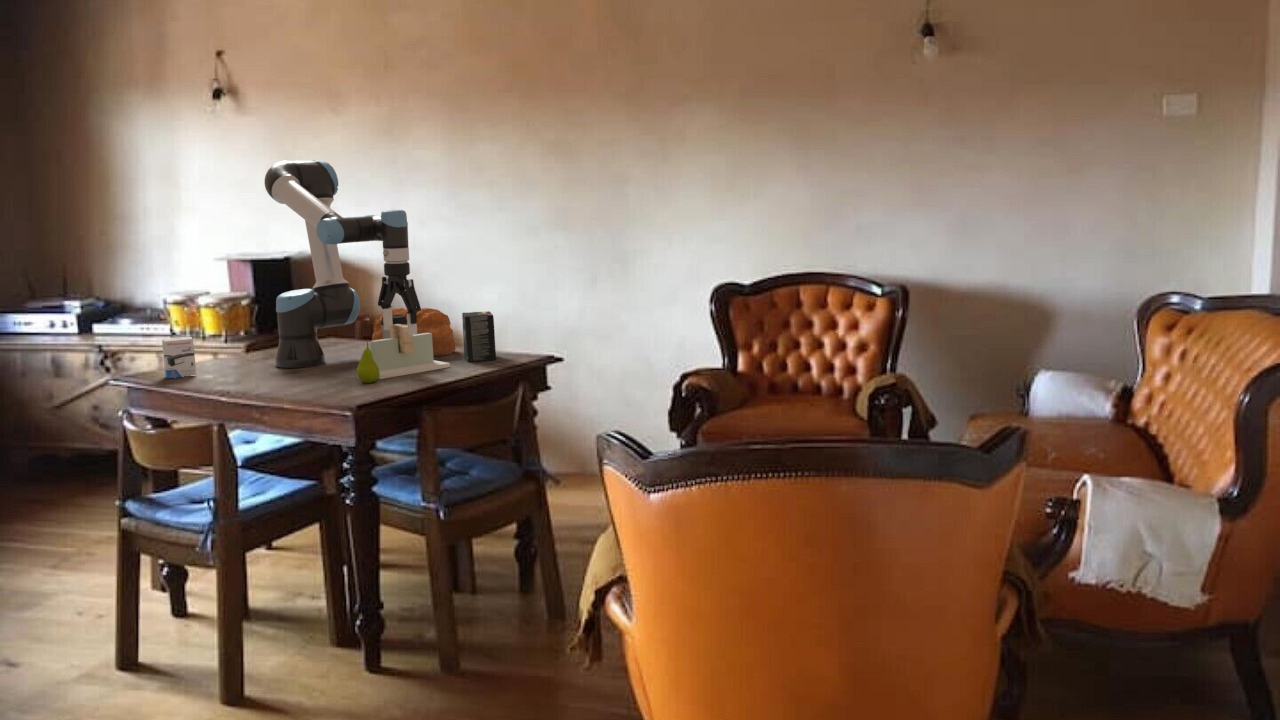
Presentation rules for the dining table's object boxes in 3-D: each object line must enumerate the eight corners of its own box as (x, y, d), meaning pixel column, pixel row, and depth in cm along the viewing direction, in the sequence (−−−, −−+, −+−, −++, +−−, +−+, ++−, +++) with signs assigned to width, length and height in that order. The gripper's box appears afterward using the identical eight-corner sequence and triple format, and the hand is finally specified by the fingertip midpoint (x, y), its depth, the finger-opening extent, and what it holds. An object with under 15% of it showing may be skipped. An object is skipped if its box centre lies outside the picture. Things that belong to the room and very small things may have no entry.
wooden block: (391, 351, 336) (389, 325, 334) (399, 349, 338) (397, 324, 336) (405, 353, 330) (403, 327, 329) (413, 352, 332) (412, 326, 331)
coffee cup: (404, 366, 342) (400, 318, 339) (379, 365, 344) (375, 318, 341) (414, 361, 350) (411, 314, 347) (390, 361, 352) (386, 314, 349)
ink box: (166, 379, 331) (162, 340, 329) (165, 377, 335) (161, 338, 333) (197, 376, 335) (193, 338, 333) (195, 373, 339) (191, 336, 337)
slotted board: (356, 373, 332) (354, 340, 330) (424, 362, 348) (422, 330, 346) (381, 378, 322) (378, 344, 320) (449, 367, 338) (447, 334, 336)
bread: (388, 349, 376) (385, 304, 373) (459, 350, 369) (457, 305, 366) (368, 356, 363) (364, 310, 360) (441, 358, 356) (439, 310, 353)
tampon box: (496, 360, 348) (494, 314, 345) (467, 362, 346) (464, 316, 343) (492, 355, 358) (490, 310, 356) (464, 357, 356) (461, 312, 353)
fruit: (359, 385, 313) (356, 343, 311) (356, 382, 318) (352, 341, 316) (382, 383, 315) (379, 341, 313) (378, 379, 321) (375, 339, 319)
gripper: (363, 260, 336) (368, 329, 339) (408, 265, 318) (412, 338, 322) (385, 258, 341) (389, 326, 345) (430, 263, 323) (433, 335, 327)
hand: (400, 332), depth 333 cm, fingers open, 13 cm apart
